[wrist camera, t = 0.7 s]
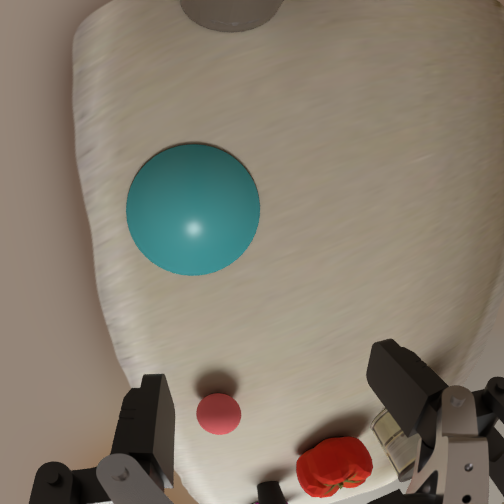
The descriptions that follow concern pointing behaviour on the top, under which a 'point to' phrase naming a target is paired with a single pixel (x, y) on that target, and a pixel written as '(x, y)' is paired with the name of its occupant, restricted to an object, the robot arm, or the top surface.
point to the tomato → (333, 466)
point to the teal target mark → (193, 209)
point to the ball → (218, 413)
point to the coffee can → (396, 445)
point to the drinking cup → (270, 493)
